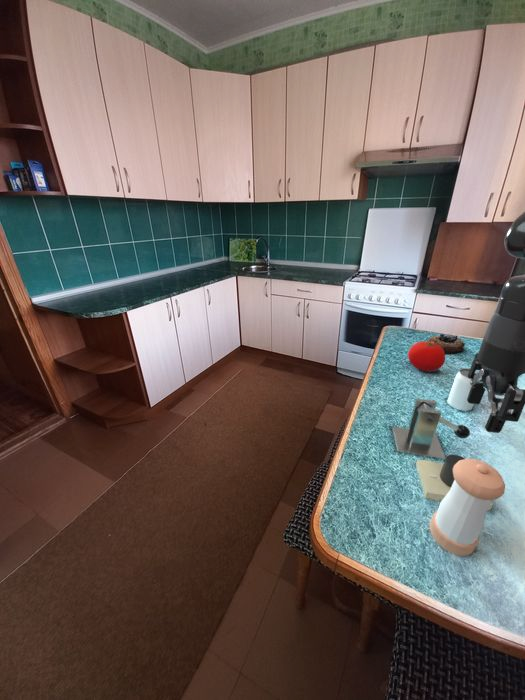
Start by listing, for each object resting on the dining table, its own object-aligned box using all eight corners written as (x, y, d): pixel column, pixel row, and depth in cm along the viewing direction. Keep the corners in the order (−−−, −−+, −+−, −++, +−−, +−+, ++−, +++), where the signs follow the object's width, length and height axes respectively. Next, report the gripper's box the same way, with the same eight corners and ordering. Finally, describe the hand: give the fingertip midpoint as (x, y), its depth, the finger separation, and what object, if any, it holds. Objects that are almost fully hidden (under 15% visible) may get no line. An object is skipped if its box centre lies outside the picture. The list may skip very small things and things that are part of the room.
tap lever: (460, 434, 73) (470, 426, 71) (464, 443, 70) (475, 435, 69) (415, 409, 73) (424, 400, 71) (418, 417, 70) (427, 408, 68)
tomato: (440, 379, 103) (448, 353, 98) (403, 370, 109) (409, 345, 104) (442, 365, 112) (449, 340, 107) (407, 357, 117) (413, 334, 113)
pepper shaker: (482, 557, 52) (525, 484, 43) (443, 561, 51) (478, 488, 43) (455, 517, 58) (487, 447, 49) (420, 521, 58) (446, 450, 49)
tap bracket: (434, 436, 78) (447, 397, 72) (444, 462, 71) (460, 421, 65) (391, 430, 81) (400, 392, 75) (396, 454, 73) (407, 414, 67)
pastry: (467, 352, 121) (471, 339, 118) (442, 355, 119) (446, 342, 116) (447, 341, 131) (450, 329, 128) (423, 344, 128) (427, 332, 126)
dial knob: (436, 469, 65) (442, 451, 63) (460, 472, 64) (467, 455, 62) (444, 487, 61) (451, 469, 58) (469, 491, 60) (477, 473, 58)
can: (445, 398, 93) (456, 366, 88) (469, 403, 91) (482, 370, 85) (447, 409, 88) (458, 376, 83) (472, 415, 85) (486, 381, 80)
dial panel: (471, 477, 66) (475, 467, 65) (488, 514, 59) (493, 504, 57) (414, 467, 69) (417, 458, 68) (423, 501, 61) (427, 491, 60)
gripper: (567, 362, 42) (524, 445, 49) (515, 325, 54) (487, 396, 61) (507, 358, 43) (474, 439, 51) (469, 323, 56) (448, 392, 63)
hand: (481, 416), depth 56 cm, fingers open, 8 cm apart
